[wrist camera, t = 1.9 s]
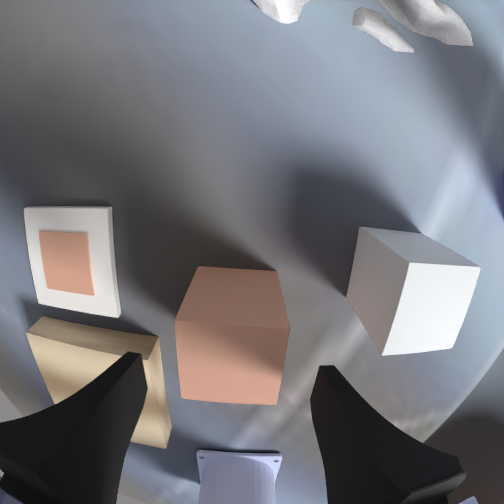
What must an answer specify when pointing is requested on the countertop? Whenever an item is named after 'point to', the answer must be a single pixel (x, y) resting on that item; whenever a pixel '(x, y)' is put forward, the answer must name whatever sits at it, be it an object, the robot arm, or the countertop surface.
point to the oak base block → (100, 367)
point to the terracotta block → (232, 336)
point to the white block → (409, 290)
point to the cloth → (400, 8)
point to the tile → (73, 258)
